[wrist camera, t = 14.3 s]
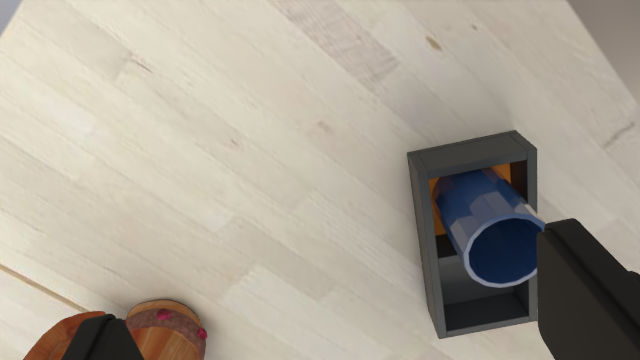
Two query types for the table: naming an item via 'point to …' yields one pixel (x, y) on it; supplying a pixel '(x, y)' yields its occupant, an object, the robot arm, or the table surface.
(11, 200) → the table surface
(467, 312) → the holder
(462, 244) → the cup
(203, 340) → the mug
